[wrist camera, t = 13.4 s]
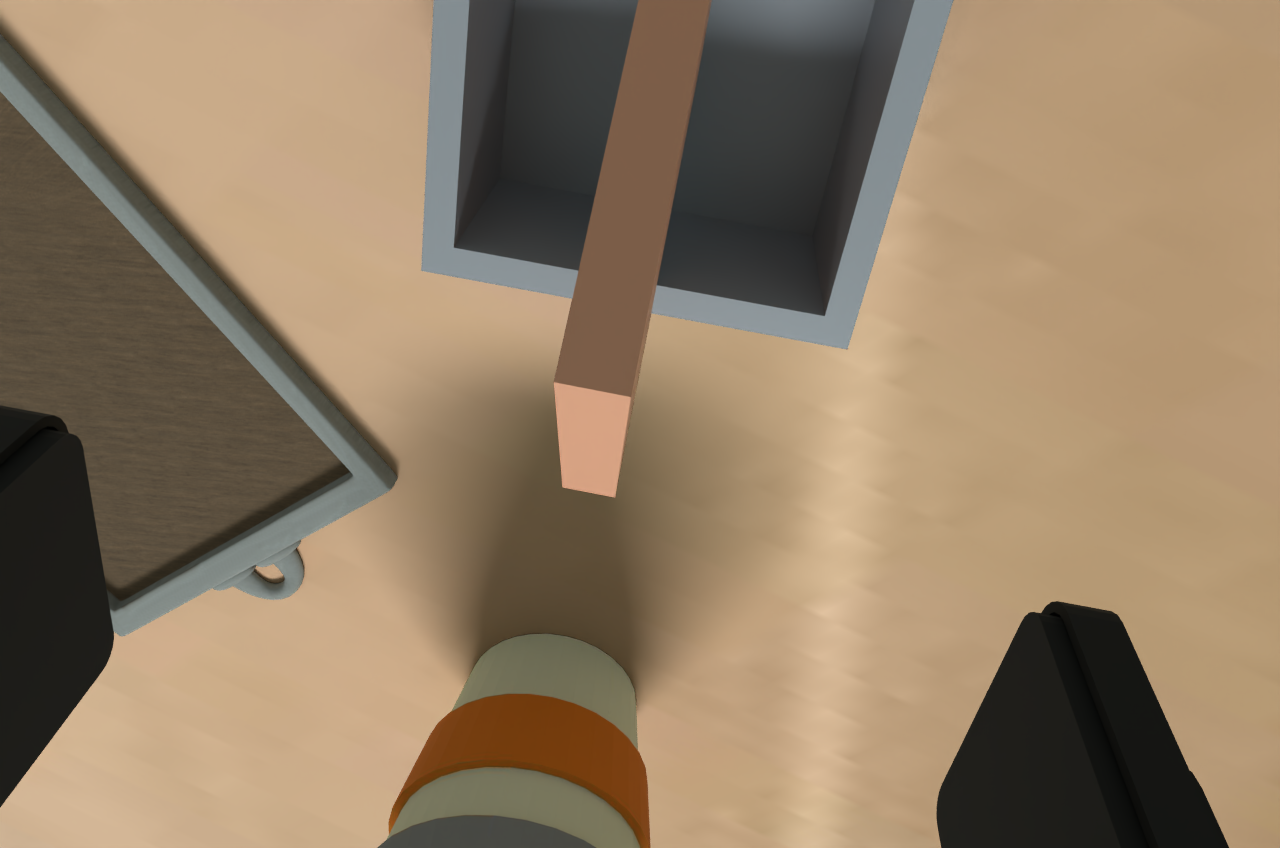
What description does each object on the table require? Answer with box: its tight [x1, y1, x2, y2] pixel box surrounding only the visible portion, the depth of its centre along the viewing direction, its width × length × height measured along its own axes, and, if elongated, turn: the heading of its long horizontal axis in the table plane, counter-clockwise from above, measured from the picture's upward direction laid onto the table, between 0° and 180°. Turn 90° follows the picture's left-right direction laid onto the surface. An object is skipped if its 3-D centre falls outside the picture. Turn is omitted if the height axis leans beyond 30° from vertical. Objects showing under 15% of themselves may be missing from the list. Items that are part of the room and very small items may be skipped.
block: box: [554, 0, 712, 497], centre depth 27 cm, size 2×10×15 cm
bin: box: [421, 0, 953, 349], centre depth 32 cm, size 14×14×8 cm
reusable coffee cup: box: [378, 634, 650, 848], centre depth 47 cm, size 13×12×15 cm
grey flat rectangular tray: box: [0, 34, 398, 636], centre depth 45 cm, size 19×2×30 cm
